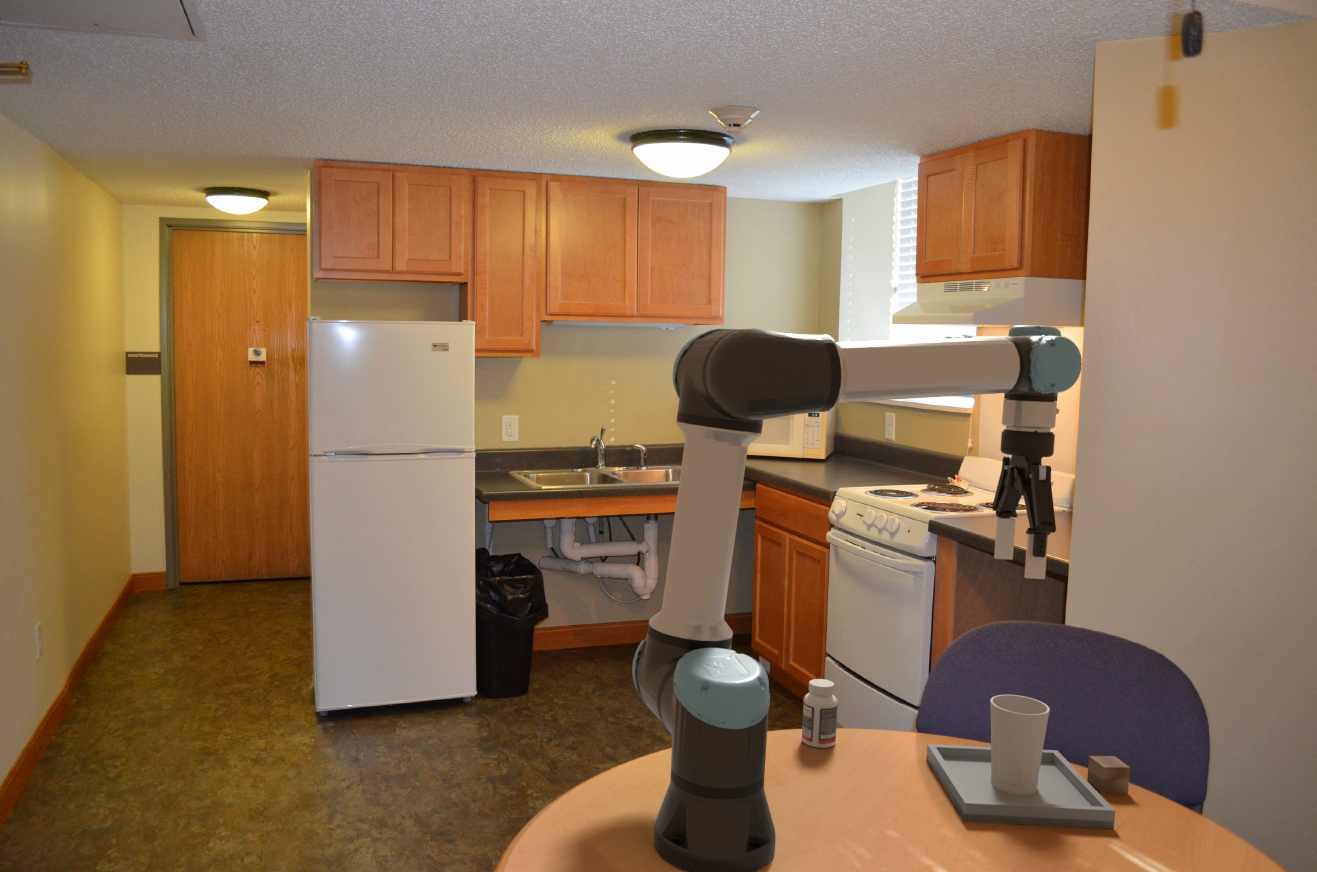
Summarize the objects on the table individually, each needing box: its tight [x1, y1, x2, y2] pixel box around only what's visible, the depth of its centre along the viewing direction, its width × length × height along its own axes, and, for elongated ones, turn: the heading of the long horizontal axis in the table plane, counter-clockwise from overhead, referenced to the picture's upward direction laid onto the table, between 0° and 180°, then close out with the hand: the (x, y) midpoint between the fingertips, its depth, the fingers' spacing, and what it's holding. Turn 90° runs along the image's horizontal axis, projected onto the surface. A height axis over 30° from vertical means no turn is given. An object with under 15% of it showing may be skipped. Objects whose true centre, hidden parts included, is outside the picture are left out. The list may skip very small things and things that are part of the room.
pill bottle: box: [801, 678, 839, 749], centre depth 155 cm, size 5×5×10 cm
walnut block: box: [1086, 755, 1131, 794], centre depth 143 cm, size 4×4×4 cm
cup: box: [989, 694, 1051, 795], centre depth 139 cm, size 8×8×12 cm
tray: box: [925, 743, 1116, 829], centre depth 140 cm, size 20×20×2 cm
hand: (1018, 568), depth 148 cm, fingers open, 13 cm apart
